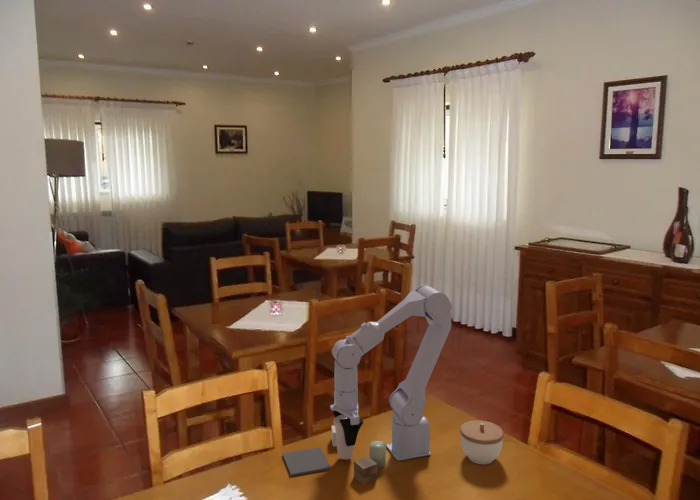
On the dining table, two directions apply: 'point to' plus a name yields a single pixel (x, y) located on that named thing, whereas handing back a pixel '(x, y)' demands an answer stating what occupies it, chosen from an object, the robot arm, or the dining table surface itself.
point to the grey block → (333, 435)
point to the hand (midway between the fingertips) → (346, 438)
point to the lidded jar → (481, 441)
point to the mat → (306, 461)
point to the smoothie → (342, 440)
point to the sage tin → (378, 453)
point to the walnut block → (365, 470)
